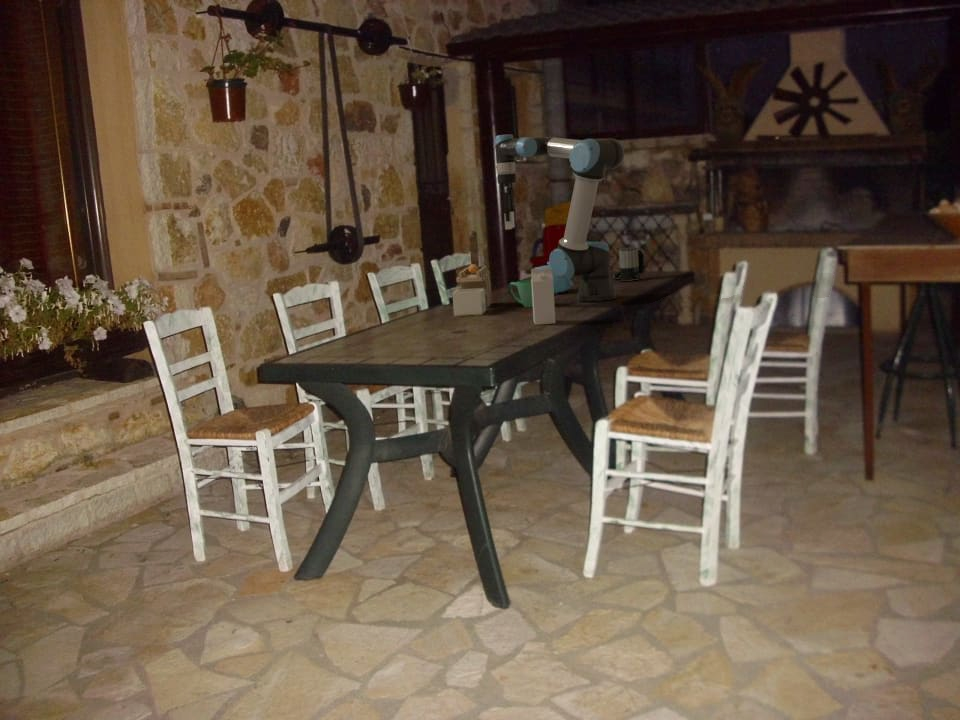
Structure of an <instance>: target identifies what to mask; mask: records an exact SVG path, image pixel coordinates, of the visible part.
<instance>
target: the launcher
mask: <svg viewBox="0 0 960 720" xmlns="http://www.w3.org/2000/svg"><path fill="white" fill-rule="evenodd" d="M487 267H488V266H486V265H484V266H482V268H481V269H480V270H478V271H477V272H476V274H471V273H468V268H469V266H468V267H465V268H463V270H461V271H460V272H458V276H457V277H456V281H455V282H456V283H460V286H461V288H460V289H474V288H484V290H485V304H486V309H488V308H489V307H490V306H491V305H492V304H493V303H492V302H493V301H492V291H491V289H492V288H491V275H490V270H488V268H487Z"/></svg>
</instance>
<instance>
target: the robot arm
mask: <svg viewBox="0 0 960 720" xmlns="http://www.w3.org/2000/svg"><path fill="white" fill-rule="evenodd" d="M494 140H495V141H494V147H495V156H496V165H495V169H496V170H497V171H496V173H497V183H498V184H500V185H501V184H503V187H502V188H501V191H502V203H503V204H502V205H503V207H502V210H503V211H502V214H504V215H503V216H504V230H513V228H516V227H515V226H516V225H515V212H516V208H515V206H514V194H513V193H514V191H513V189H514V188H513V186H512V185H511V184H513V183H514V184H515V183H516V182H517V176H516V175H517V174H516V169H517V168H516V158H517V159H518V158H529V157H530V158H531V157H549V158H550V157H551V158H552V157H554V158H560V159H561V158H562V159H569V163H570V167H571V169H572V174H573V176H574V177H575V181H574V185H573V190H572V195H571V201H570V205H569V210H568V216H567V219H566V225H565V230H564V235H563V237H562V238H560V239H559V240H558V243H557V244H558V245H557V248H555V249H553V250H552V251H551V252H550V255H549V259H548V262H549V263H550V267H551V268H552V271H553V273H554V274H555V275H556V276H557V277H559V278H571V279H572V278H577V277H580V283H579V286H578V292H577V295H576V296H577V297H576V299H577V301H578V302H583V301H588V302H589V301H590V302H589V303H591V301H598V302H605V301H604V300H607V301H611V300H610V299H612V300H614V298H615V299H616V292H615V289H614V286H613V283H612V281H611V265H610V264H611V263H610V261H611V260H610V248H609V244H608V243H607V242H604V241H587V237H588V233H589V232H588V231H589V228H590V223H591V220H592V219H591V218H592V213H593V209H594V206H595V199H596V195H597V190H598V187H599V186H598V185H599V182H601V181H602V180H603V179H604V178H605V173H606V171H612V170H614V169H616V168H618V167H619V166H620V165H621V164H622V163H623V161H624V159H625V148H624V146H623V144H622V143H621V142H620V141H619V140H617V139H615V138H612V137H611V138H608V137H607V138H585V139H572V138H563V137H562V138H560V137H554V136H542V137H541V136H539V137H533V136H532V137H529V136H528V137H527V136H526V137H518V138H514V135H513V134H499V135H496V136H495V139H494Z"/></svg>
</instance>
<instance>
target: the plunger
mask: <svg viewBox="0 0 960 720" xmlns="http://www.w3.org/2000/svg"><path fill="white" fill-rule="evenodd" d="M468 238H469V239H468V240H469V252H470V253H469V254H470V265H472V264H475V265H477V266H478V270H480V269H481V268H482V267H483V266H482V265H481V266H480V259H479V247H478V245H479V244H478V234H477V232H476V231H475V230H471V231H470V232H469V233H468ZM468 273H470V272H469V270H468Z"/></svg>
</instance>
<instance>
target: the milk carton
mask: <svg viewBox="0 0 960 720" xmlns="http://www.w3.org/2000/svg"><path fill="white" fill-rule="evenodd" d="M530 272H531V274H530V280H531V286H532V302H533V307H532V319H533V323H534V325H536V326H538V325H539V326H540V325H548V324H549V325H551V324H552V325H553V324H556V309H555V295H554V288H553V276H552V268H544V269H534V268H532V269H530Z"/></svg>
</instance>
